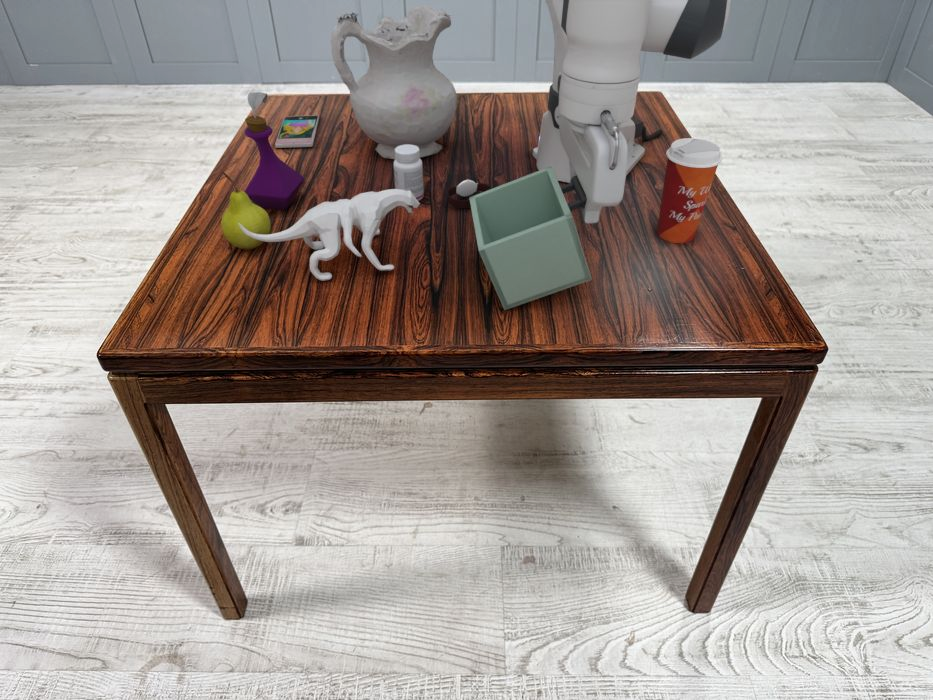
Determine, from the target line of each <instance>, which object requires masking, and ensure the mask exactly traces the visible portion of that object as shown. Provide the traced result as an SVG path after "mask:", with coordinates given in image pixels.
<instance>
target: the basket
mask: <svg viewBox="0 0 933 700" xmlns="http://www.w3.org/2000/svg"><path fill="white" fill-rule="evenodd" d="M559 182H560V181H558V180H557V178H556V175H555V173H554V170H553V168H552V166H550V167H547V168H545V169H542V170H540V171H539V170H537V171H535V172H531V173H529V174H526V175H525V176H521V177H519V178H516V179H514V180H512V181H509V182H505V183H504V184H501V185H498V186H496V187H493V188H492V189H490V190H488V191H485V192H483V191H482V192H480V193H477V194H475V195H471V196H469V199H468V200H470V205H471V208H470V210H471V215H472V221H473V227H474V233H475V237H476V245H477V251H478V253H479V255H480V257H481V260H482V262H483V264H484V267H485V269H486V271H487V274H488V277H489V278H490V281H491V284H492V285H493V288H494V290H495V292H496V295H497V296H498V299H499V301H500V304H501V306H502V308H503V310H504V311H506V310H507V311H508V310H509V309H513V308H516V307H519V306H521V305H523V304H526V303H530V302H532V301H536V300H538V299H542V298H544V297H547V296H549V295H553V294H555V293H558V292H561V291H564V290H567V289H569V288H572V287H575V286H578V285H580V284H581V285H582V284H583V283H587V282H590V281H592V280H593V278H592V276H591V272H590V268H589V265H588V263H587V258H586V255H585V252H584V249H583V246H582V243H581V239H580V235H579V233H578V230H577V227H576V223H575V220H574V216H573V214H572V212H573V211H576V210H578V209H581V208H582V209H583V206H584V205H586V201H587V198H586V194H585V192H584V190H583V188H582V186H581V183H580V181H579V179H578V177H577V175H576V176H574V177H573V178H572V179H571V183H566V184H563V185H560V183H559ZM572 190H574V191H575V193H574V194H575V195H576V197H577V199H576V200H574V201H571V202H569V203H568V202H567V199H566V197H565V194H567V193H569V192H572Z"/></svg>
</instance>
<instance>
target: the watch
mask: <svg viewBox="0 0 933 700" xmlns="http://www.w3.org/2000/svg"><path fill="white" fill-rule="evenodd" d="M490 189H493V188H492V186H491V185H490V184H487V183H483V182H481V183H479V182H475V181H474V180H471V179H469V178H467V179H465V180H463V181H461V182H460V183H458V185H455V186H452V187H450V188H448V189H447V191H446V202H447V203H448V204H449V205H450V206H452V207H454V208H458V209H471V205H470V199H466V200H464V199H463V200H462V199H456V198H453V197H451V196H454V195H459V196H461V197H471V196H473V194H474V193H475V192H482V193H483V192H485V191H488V190H490Z"/></svg>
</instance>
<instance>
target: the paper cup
mask: <svg viewBox="0 0 933 700" xmlns="http://www.w3.org/2000/svg"><path fill="white" fill-rule="evenodd" d="M721 153H722V152H721V149H720V147H719V146H718V145H717V144H716V143H714V142H711V141H709V140H706V139H702V138H695V137H685V138H679V139H676V140H674V141H672V143H671V144H670V147H669V148H668V149H667V150H666V153H665V155H666V157H667V160H666V168H665V173H664V181H663V186H662V194H661V199H660V206H659V207H660V208H659V215H658V222H657V235H658V237H660V238H661V239H663V240H664V241H666V242H669V243H673V244H686V243H687V244H688V243H689V242H691V241H693V239H694V238H695V235H696V232H697V229H698V227H699V224H700V221H701V218H702V215H703V212H704V210H705V209H704V208H705V206H706V203H707V200H708V196H709V194H710V191H711V188H712V184H713V183H714V179H715V175H716V172H717V169H718V166H719V165H720V164H721V163H722V162H723V161H722V160H723V157H722V155H721Z"/></svg>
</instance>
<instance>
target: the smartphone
mask: <svg viewBox="0 0 933 700" xmlns="http://www.w3.org/2000/svg"><path fill="white" fill-rule="evenodd" d="M319 122H320V115H318V114H317V115H315V114H314V115H285V116H284V118H283V120H282V123H281V125H280V128H279V131H278V134H277V137H276V140H275V143H274V147H275V148H276V149H278V148H279V149H280V148H281V149H283V148H285V149H286V148H312V147H314V143H315V139H316V135H317V129H318V125H319Z"/></svg>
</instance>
